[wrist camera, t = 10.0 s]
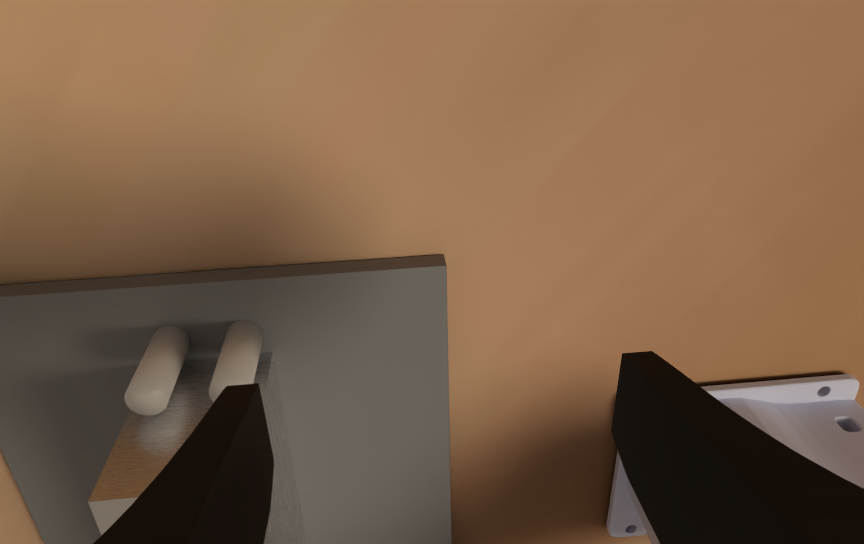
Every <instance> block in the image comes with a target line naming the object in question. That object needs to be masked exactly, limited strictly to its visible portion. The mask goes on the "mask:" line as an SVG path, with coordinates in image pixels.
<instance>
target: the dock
mask: <svg viewBox="0 0 864 544" xmlns="http://www.w3.org/2000/svg"><path fill="white" fill-rule="evenodd" d="M267 352H273V356H274V361H275V367H276V372H277V378H278V384H279V389H280V395H281V400H282V406H283V412H284V417H285V423H286V428H287V434H288V440H289V445H290V451H291V456H292V462H293V468H294V473H295V479H296V484H297V490H298V496H299V501H300V507H301V512H302V518H303V524H304V529H305V535H306V540H307V544H452V537H451V484H450V431H449V378H448V325H447V272H446V262H445V258H444V254H443V255H429V256H414V257H400V258H385V259H371V260H356V261H342V262H327V263H313V264H299V265H284V266H270V267H255V268H241V269H226V270H212V271H197V272H183V273H168V274H154V275H140V276H125V277H111V278H96V279H82V280H67V281H53V282H38V283H24V284H9V285H0V449H1V451H2V453H3V455H4V458H5V460H6V462H7V464H8V466H9V468H10V470H11V473H12V475H13V477H14V479H15V481H16V483H17V485H18V487H19V490H20V492H21V494H22V496H23V498H24V500H25V502H26V504H27V507H28V509H29V511H30V513H31V515H32V517H33V519H34V521H35V524H36V526H37V528H38V530H39V532H40V534H41V536H42V539H43V541H44V543H45V544H93V543H94V542H95V541H96V540H97V539H98V538H99V537H100V536H101V533H100V531H99V528H98V526H97V523H96V521H95V518H94V516H93V513H92V511H91V508H90V506H89V503H88V501H89V499H90V497H91V494H92V492H93V490H94V488H95V486H96V483H97V481H98V479H99V477H100V475H101V473H102V470H103V468H104V466H105V464H106V462H107V460H108V457H109V455H110V453H111V451H112V449H113V446H114V444H115V442H116V440H117V438H118V436H119V433H120V431H121V429H122V427H123V425H124V422H125V420H126V418H127V416H128V414H129V412H130V409H131V410H132V411H134V412H136V413H138V414H141V415H147V416H150V415H156V414H159V413H161V412H162V411H163V410H164V409H165V408H166V406H167V404H168V401H169V399H170V396H171V394H172V391H173V389H174V386H175V383H176V381H177V378H178V376H179V373H180V371H181V368H182V365H183V363H184V360H185V359H190V358H203V357H216V356H219V358H218V362H217V365H216V368H215V371H214V374H213V377H212V381H211V384H210V387H209V396H210V398H211V400H212V401H213V402H214V401H215V400H216V399H217V397H218V396H219V395H220V393H221V392H222V391H223V389H224V388H225V387H226V386H231V385H243V384H253V383H254V378H255V374H256V369H257V365H258V360H259V356H260V353H267Z"/></svg>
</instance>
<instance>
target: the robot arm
mask: <svg viewBox="0 0 864 544" xmlns="http://www.w3.org/2000/svg"><path fill="white" fill-rule="evenodd" d="M819 389H820V390H819ZM858 389H859V382H858V380H856V379H855V378H854V377H853V376H852V375H850V374H842V375H830V376H818V377H807V378H795V379H783V380H772V381H760V382H749V383H737V384H725V385H714V386H702V387H700V386H699V385H697V384H696V383H695V382H693V381H692V380H691V379H689V378H688V377H687V376H685V375H684V374H683V373H681V372H680V371H679V370H677V369H676V368H675V367H673V366H672V365H671V364H669V363H668V362H666V361H665V360H664V359H662V358H661V357H660V356H658V355H657V354H655V353H654V352H652V351H648V352H635V353H623V354H622V359H621V366H620V373H619V380H618V387H617V394H616V401H615V409H614V416H613V423H612V430H611V431H612V434H613V437H614V441H615V444H616V447H617V450H618V451H617V457H616V464H615V471H614V477H613V484H612V491H611V498H610V504H609V511H608V518H607V524H606V526H607V530H608V532H609V534H610V535H611V536H613V537H627V536H637V535H646V534H647V535H648V537H649V539H650V541H651V543H652V544H864V409H863V408H862V407H861V406H860V405H859V404H858V403H857V402H856V401H855V397H856V394H857V392H858ZM273 472H274V457H273V452H272V447H271V442H270V437H269V432H268V427H267V422H266V417H265V412H264V407H263V402H262V397H261V392H260V386H259V383H255V384H243V385H231V386H226V387H225V388H224V389H223V391H222V392H221V393H220V395H219V396H218V397H217V399H216V400H215V401H214V403H213V404H212V406H211V407H210V408H209V410H208V411H207V413H206V414H205V415H204V417H203V418H202V419H201V421H200V422H199V423H198V425H197V426H196V427H195V429H194V430H193V431H192V433H191V434H190V435H189V437H188V438H187V439H186V441H185V442H184V443H183V444H182V446H181V447H180V448H179V449H178V451H177V452H176V453H175V454H174V456H173V457H172V458H171V460H170V461H169V462H168V463H167V465H166V466H165V467H164V468H163V469H162V471H161V472H160V473H159V474H158V475H157V476H156V477H155V479H154V480H153V481H152V482H151V483H150V484H149V485H148V487H147V488H146V489H145V490H144V491H143V492H142V493H141V495H140V496H139V497H138V498H137V499H136V500H135V501H134V503H133V504H132V505H131V506H130V507H129V508H128V509H127V510H126V511H125V512H124V513H123V514H122V515H121V516H120V517H119V518H118V519H117V520H116V521H115V523H114V524H113V525H112V526H111V527H110V528H109V529H108V530H107V531H106V532H104V533H103V534H102V535H101V536H100V537H99V538H98V539H97V540H96V541H95V542H94V543H93V544H264V540H265V535H266V530H267V525H268V520H269V515H270V509H271V497H272V486H273Z"/></svg>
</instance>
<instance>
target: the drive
mask: <svg viewBox="0 0 864 544" xmlns="http://www.w3.org/2000/svg"><path fill="white" fill-rule="evenodd" d="M218 358H219V356H216V357H203V358H190V359H185V360H184V363H183V365H182V368H181V371H180V373H179V376H178V378H177V381H176V383H175V386H174V389H173V391H172V394H171V396H170V399H169V401H168V404H167V406H166V408H165V409H164V410H163V411H162V412H161V413H159V414H156V415H150V416H147V415H141V414H138V413H136V412H134V411H132V410H131V409H130V412H129V414H128V416H127V418H126V420H125V422H124V425H123V427H122V429H121V431H120V433H119V436H118V438H117V440H116V442H115V444H114V446H113V449H112V451H111V453H110V455H109V457H108V460H107V462H106V464H105V466H104V468H103V470H102V473H101V475H100V477H99V479H98V481H97V483H96V486H95V488H94V490H93V492H92V494H91V497H90V499H89V501H88V503H89V506H90V508H91V511H92V513H93V516H94V518H95V521H96V523H97V526H98V528H99V531H100V533H101V535H102V534H103V533H104V532H106V531H107V530H108V529H109V528H110V527H111V526H112V525H113V524H114V523H115V521H116V520H117V519H118V518H119V517H120V516H121V515H122V514H123V513H124V512H125V511H126V510H127V509H128V508H129V507H130V506H131V505H132V504H133V503H134V501H135V500H136V499H137V498H138V497H139V496H140V495H141V493H142V492H143V491H144V490H145V489H146V488H147V487H148V485H149V484H150V483H151V482H152V481H153V480H154V479H155V477H156V476H157V475H158V474H159V473H160V472H161V471H162V469H163V468H164V467H165V466H166V465H167V463H168V462H169V461H170V460H171V458H172V457H173V456H174V454H175V453H176V452H177V451H178V449H179V448H180V447H181V446H182V444H183V443H184V442H185V441H186V439H187V438H188V437H189V435H190V434H191V433H192V431H193V430H194V429H195V427H196V426H197V425H198V423H199V422H200V421H201V419H202V418H203V417H204V415H205V414H206V413H207V411H208V410H209V408H210V407H211V406H212V404H213V403H214V402H213V401H212V400H211V398H210V396H209V387H210V384H211V381H212V377H213V374H214V371H215V368H216V365H217V362H218ZM255 383H259V386H260V392H261V397H262V402H263V407H264V412H265V417H266V422H267V427H268V432H269V437H270V442H271V447H272V452H273V457H274V472H273V486H272V497H271V509H270V515H269V520H268V525H267V530H266V535H265V540H264V544H307V540H306V535H305V529H304V524H303V518H302V512H301V507H300V501H299V496H298V490H297V484H296V479H295V473H294V468H293V462H292V456H291V451H290V445H289V440H288V434H287V428H286V423H285V417H284V412H283V406H282V400H281V395H280V389H279V384H278V378H277V372H276V367H275V361H274V356H273V352H267V353H260V356H259V360H258V365H257V369H256V374H255V378H254V383H253V384H255Z"/></svg>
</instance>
